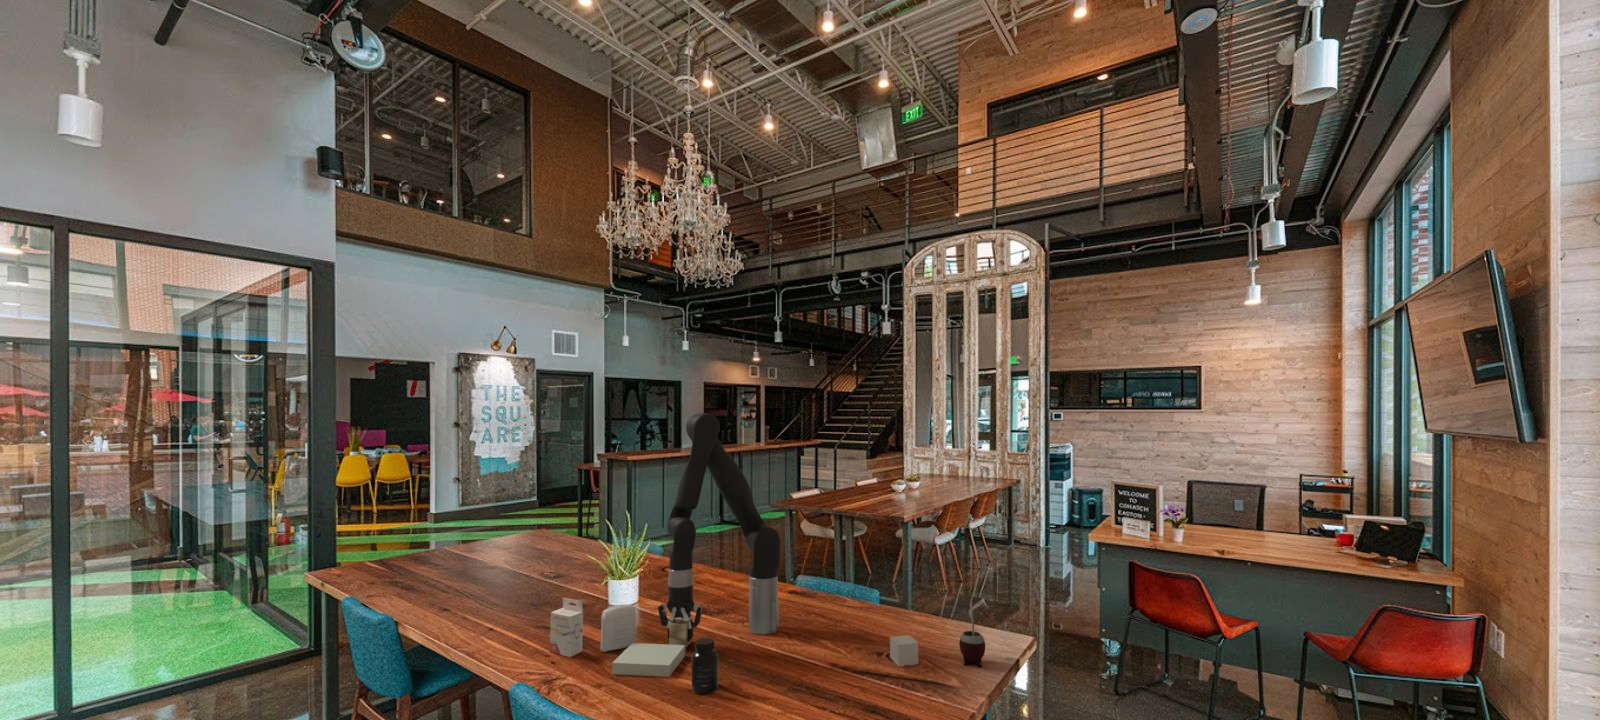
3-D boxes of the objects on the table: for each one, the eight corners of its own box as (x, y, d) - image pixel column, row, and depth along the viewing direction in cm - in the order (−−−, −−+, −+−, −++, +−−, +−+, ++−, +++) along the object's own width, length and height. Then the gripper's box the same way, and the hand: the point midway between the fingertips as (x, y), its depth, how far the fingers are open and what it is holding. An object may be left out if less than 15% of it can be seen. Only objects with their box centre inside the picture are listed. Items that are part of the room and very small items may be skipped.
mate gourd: (972, 670, 169) (970, 614, 170) (952, 660, 176) (951, 606, 177) (992, 665, 172) (990, 609, 173) (972, 655, 179) (971, 602, 180)
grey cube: (909, 656, 179) (908, 635, 179) (918, 664, 173) (918, 642, 173) (889, 658, 177) (889, 637, 178) (898, 667, 171) (898, 644, 172)
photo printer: (632, 641, 191) (633, 600, 192) (637, 646, 187) (637, 604, 188) (598, 649, 185) (599, 606, 186) (602, 653, 182) (603, 610, 182)
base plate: (685, 655, 180) (685, 645, 180) (669, 676, 166) (669, 665, 166) (632, 653, 181) (632, 643, 182) (612, 674, 168) (612, 662, 168)
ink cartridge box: (548, 652, 182) (549, 601, 184) (561, 646, 187) (562, 597, 188) (570, 657, 179) (571, 605, 180) (583, 651, 183) (584, 600, 184)
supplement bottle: (692, 683, 162) (693, 636, 163) (719, 682, 162) (719, 635, 163) (690, 695, 155) (690, 646, 156) (717, 694, 155) (717, 645, 156)
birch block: (691, 641, 191) (691, 618, 191) (685, 649, 185) (685, 624, 185) (675, 640, 191) (675, 617, 192) (669, 648, 185) (669, 624, 186)
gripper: (706, 580, 192) (706, 636, 191) (662, 578, 194) (661, 634, 193) (700, 587, 185) (699, 645, 184) (653, 585, 186) (653, 643, 185)
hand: (680, 639), depth 188 cm, fingers closed on birch block, 5 cm apart
